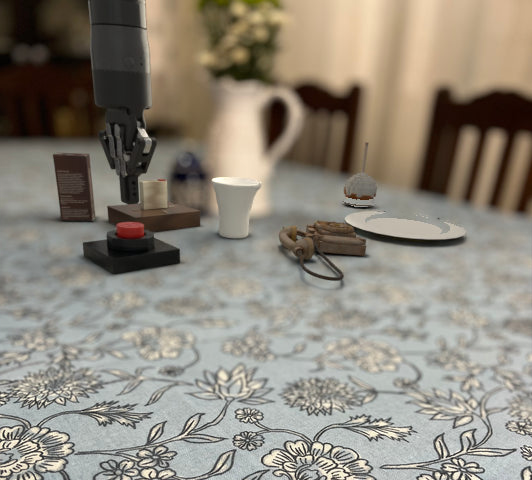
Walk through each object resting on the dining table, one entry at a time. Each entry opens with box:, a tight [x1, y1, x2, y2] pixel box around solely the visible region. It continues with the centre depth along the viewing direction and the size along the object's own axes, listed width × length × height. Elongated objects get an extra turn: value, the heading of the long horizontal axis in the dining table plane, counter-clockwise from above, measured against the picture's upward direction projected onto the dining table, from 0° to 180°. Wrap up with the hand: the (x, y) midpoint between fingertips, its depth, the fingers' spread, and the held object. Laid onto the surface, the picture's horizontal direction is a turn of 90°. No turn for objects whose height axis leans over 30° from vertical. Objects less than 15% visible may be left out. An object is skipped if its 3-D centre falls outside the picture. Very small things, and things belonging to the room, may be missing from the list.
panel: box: [106, 200, 201, 233], centre depth 100 cm, size 14×11×3 cm
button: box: [115, 222, 144, 238], centre depth 77 cm, size 4×4×2 cm
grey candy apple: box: [342, 141, 378, 207], centre depth 128 cm, size 8×8×15 cm
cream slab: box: [138, 178, 168, 210], centre depth 98 cm, size 5×2×5 cm, turn 129°
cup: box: [211, 176, 262, 239], centre depth 95 cm, size 9×9×10 cm
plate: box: [344, 210, 467, 243], centre depth 108 cm, size 25×25×2 cm
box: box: [52, 152, 96, 222], centre depth 98 cm, size 6×4×12 cm
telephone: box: [278, 220, 367, 282], centre depth 87 cm, size 15×33×4 cm, turn 5°
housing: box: [82, 228, 181, 275], centre depth 79 cm, size 11×10×4 cm
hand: (130, 202), depth 76 cm, fingers closed
